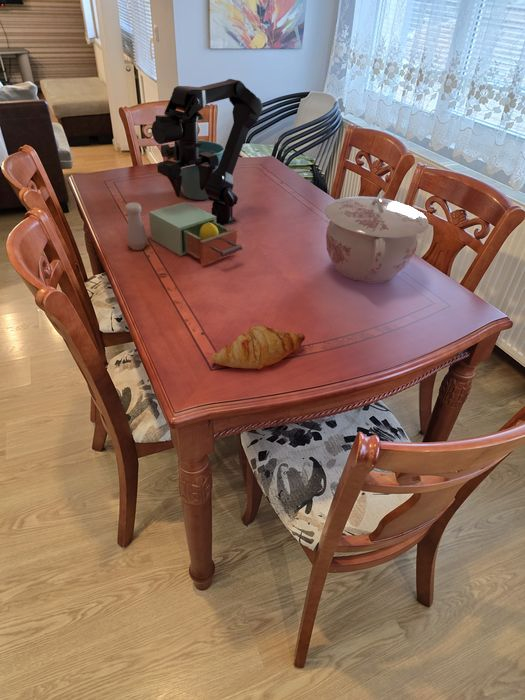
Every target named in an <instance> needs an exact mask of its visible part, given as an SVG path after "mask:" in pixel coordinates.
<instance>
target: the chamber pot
mask: <svg viewBox="0 0 525 700" xmlns="http://www.w3.org/2000/svg"><path fill="white" fill-rule="evenodd" d="M323 211H324V214H325V217H326V218H327V219H328V220H330V221H329V223H328V224H327V227H326V234H325V243H326V244H325V245H326V250H327V251H326V252H327V254H328V256H329V258H330V260H331V263H332V266H333V267H334V268H335V269H336V271H338V272H339V273H340V274H341V275H342V276H345V277H347V278H348V279H351V280H353V281H357V282H362V283H376V284H377V283H382V282H387V281H389V280H391V279H393V278H395V277H397V275H398V274H399V273H401V272H403V270H404V269H405V268H406V267H408V265H409V264H410V262H411V260H412V259H413V257H414V255H415V252H416V250H417V247H418V242H419V235H420V234H423V233H424V232H425V231H426V230H427V229H428V228H429V219H428V218H427V217H426V216H425V215H424V213H423V212H422V211H420V210H418V209H416V208H415V207H413V206H410V205H408V204H406V203H403V202H399V201H395V200H392V199H388V198H384V197H377V196H364V195H363V196H362V195H359V196H358V195H355V196H345V197H341V198H337V199H334V200H332V201H330V202H329V203H327V204H326V205H325V207H324V209H323Z"/></svg>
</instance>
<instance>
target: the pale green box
mask: <svg viewBox="0 0 525 700" xmlns="http://www.w3.org/2000/svg"><path fill="white" fill-rule="evenodd" d="M148 218H149V220H148V221H149V228H150V229H149V230H150V239H151V240H152V241H154V242H155V243H157V244H158V245H160V246H163V247H164V248H166V249H167V250H168V251H171V252H173V253H174V254H176V255H178V256H179V257H182V256H185V255H189V254H188V253H187V252H185V251H183V250H182V233H181V230H182V229H185V228H189V227H192V226H195V225H198V224H201V223H205V222H208V221H211V220H212V221H214V222H216V216H214V215H212V213H210V212H208V211H205V210H204V209H202V208H199V207H198V206H197V205H196V206H195V205H194V204H192V203H189V202H187V201H184V202H183V201H182V202H179V203H176V204H172V205H169V206H165V207H162V208H161V207H160V208H158V209H154V210H151V211H148Z"/></svg>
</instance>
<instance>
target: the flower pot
mask: <svg viewBox="0 0 525 700" xmlns="http://www.w3.org/2000/svg"><path fill="white" fill-rule="evenodd" d="M198 142H200V143H201V147H198V152H199V153H203V152H209V153H212V154H215V155H217V157H218V159H219V163H220V160H221V157H222V154H223V152H224V149H225V146H224V145H222V144H220V143H217V142H214V141H208V140H200V139H198ZM174 146H175V145H174V144H173V145H172V147H174ZM174 162H175V163H178V162H179V161H176V160H174ZM184 165H185V164H184ZM218 166H219V165H218ZM218 166H215V167H216V168H215V169H214V170H213V172H214V171H215V170H216V169H217V168H218ZM180 175H181V176H182V182H181V190H182V194H183V196H184V197H186V198H189V199H190V200H197V201H204V200H209V199H208V196H207V194H206V191H205V188H204V190H201V189H200V181H199V170H198V167H197V165H196V166H192V167H188V168H184V169H181V173H180Z"/></svg>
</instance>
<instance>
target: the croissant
mask: <svg viewBox="0 0 525 700" xmlns="http://www.w3.org/2000/svg"><path fill="white" fill-rule="evenodd" d="M305 339H306V336H305V335H304V334H303V333H302V332H298V333H295V332H294V331H293V332H292V331H282V330H280V329H275V328H273V327H271V328H270V327H269V326H266V325H253V326H251V327H250V328H248V330H247V331H246V332H245V333H244V332H243V333H241V334H240V335H238V336H237V338H236V339H235V341H233V342H231V343H229V344H226V345H224V346H223V347H222V348H221V349H220V351H217V352H215V353H213V354H212V356H211V360H212V363H214V364H216V365H219V366H224V367H228V368H232V369H233V368H234V369H235V368H238V369H239V368H240V369H257V370H261V369H263V368H264V367H267V366H271V365H274V364H277V363H278V362H280V361H282V360H283V359H285V358H286V357H287V356H288V355H290V354H291V353H293V352H295V351H296V350H298V348H299V347H300V346H301V345H302V344H303V342H305Z"/></svg>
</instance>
